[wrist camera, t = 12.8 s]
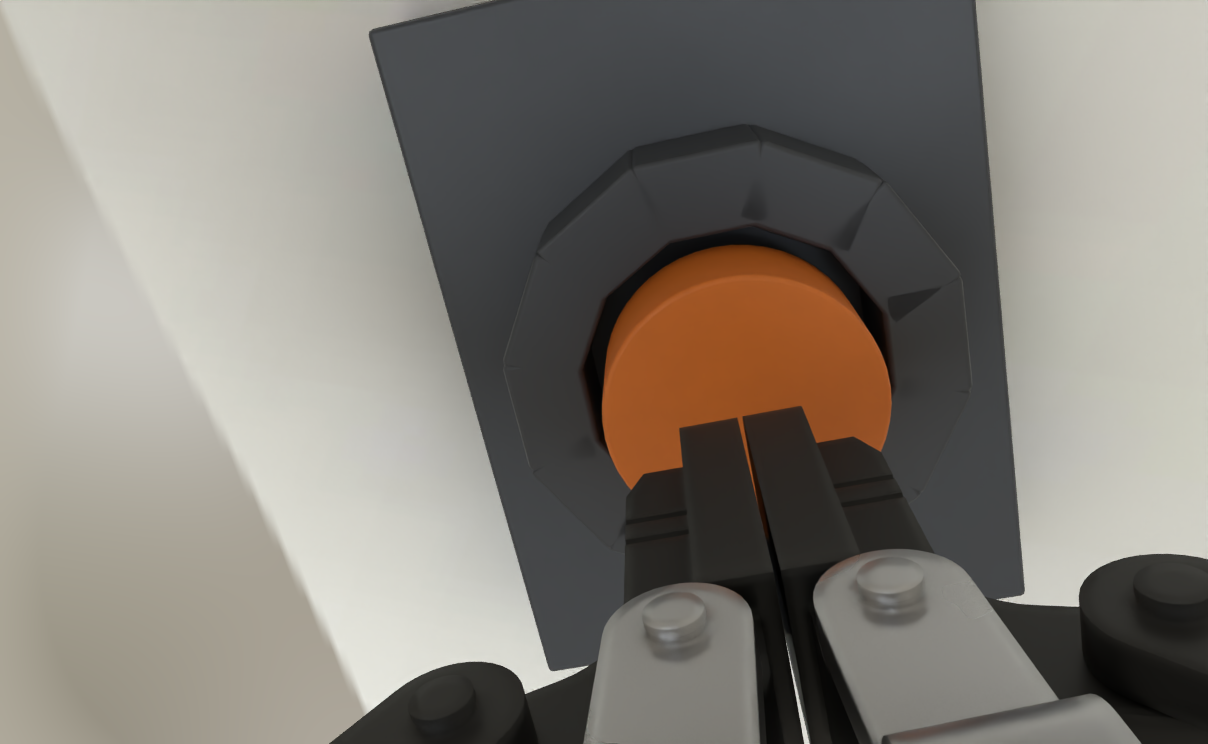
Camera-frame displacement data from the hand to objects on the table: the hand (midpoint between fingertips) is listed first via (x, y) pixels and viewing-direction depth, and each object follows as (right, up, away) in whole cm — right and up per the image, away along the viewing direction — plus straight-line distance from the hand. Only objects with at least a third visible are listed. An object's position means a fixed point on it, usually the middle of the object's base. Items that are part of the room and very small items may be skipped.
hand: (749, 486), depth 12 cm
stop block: (0, +3, +7) cm, 7 cm away
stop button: (0, +1, +3) cm, 4 cm away
